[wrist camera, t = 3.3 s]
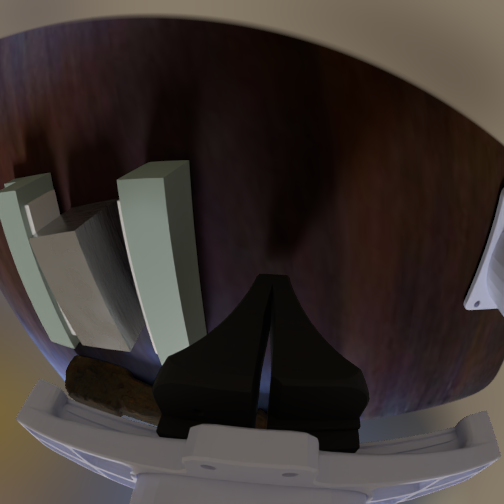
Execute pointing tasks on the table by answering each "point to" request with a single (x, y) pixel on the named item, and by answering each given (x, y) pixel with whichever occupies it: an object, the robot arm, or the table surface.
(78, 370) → the brown wooden log
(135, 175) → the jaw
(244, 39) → the table surface
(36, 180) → the pale green bar
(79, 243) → the block
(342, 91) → the table surface
